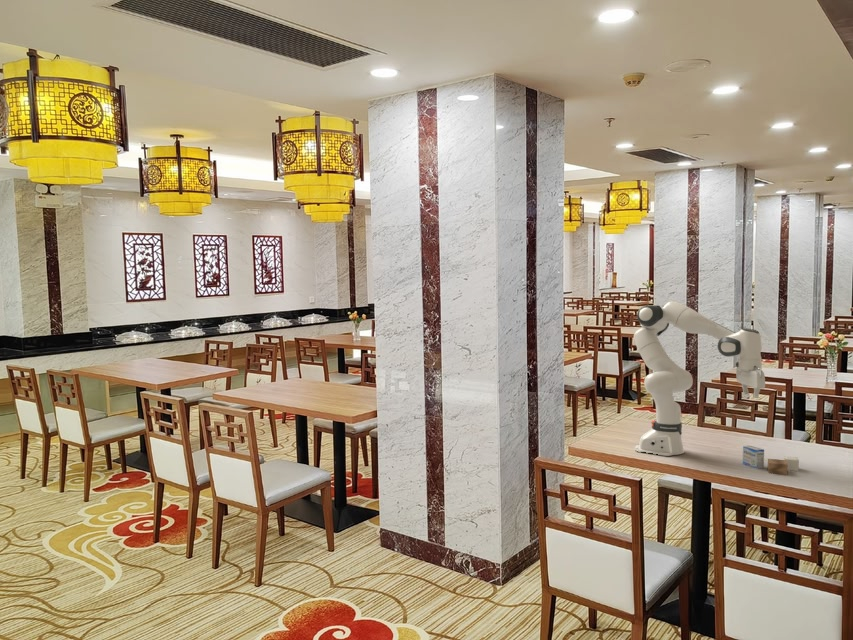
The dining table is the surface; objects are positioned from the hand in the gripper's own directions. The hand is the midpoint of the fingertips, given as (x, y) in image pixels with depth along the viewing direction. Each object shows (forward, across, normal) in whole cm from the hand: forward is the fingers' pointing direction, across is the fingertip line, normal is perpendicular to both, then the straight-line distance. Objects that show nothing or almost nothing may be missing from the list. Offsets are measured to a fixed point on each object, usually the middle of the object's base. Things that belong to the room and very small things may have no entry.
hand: (750, 395), depth 298 cm
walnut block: (+32, -13, -5) cm, 34 cm away
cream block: (+31, -9, -13) cm, 35 cm away
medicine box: (+31, -4, +1) cm, 32 cm away
